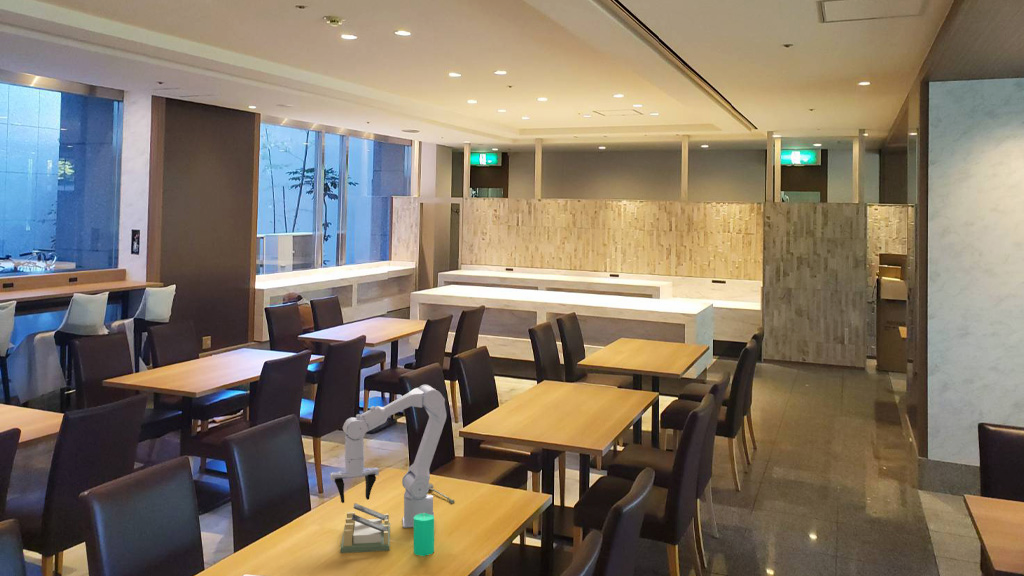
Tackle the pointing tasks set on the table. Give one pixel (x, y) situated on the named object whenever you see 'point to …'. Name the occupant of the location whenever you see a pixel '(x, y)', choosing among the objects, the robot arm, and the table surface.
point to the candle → (423, 534)
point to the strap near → (369, 523)
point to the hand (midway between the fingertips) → (355, 500)
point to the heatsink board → (367, 545)
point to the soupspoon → (440, 493)
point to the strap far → (370, 512)
